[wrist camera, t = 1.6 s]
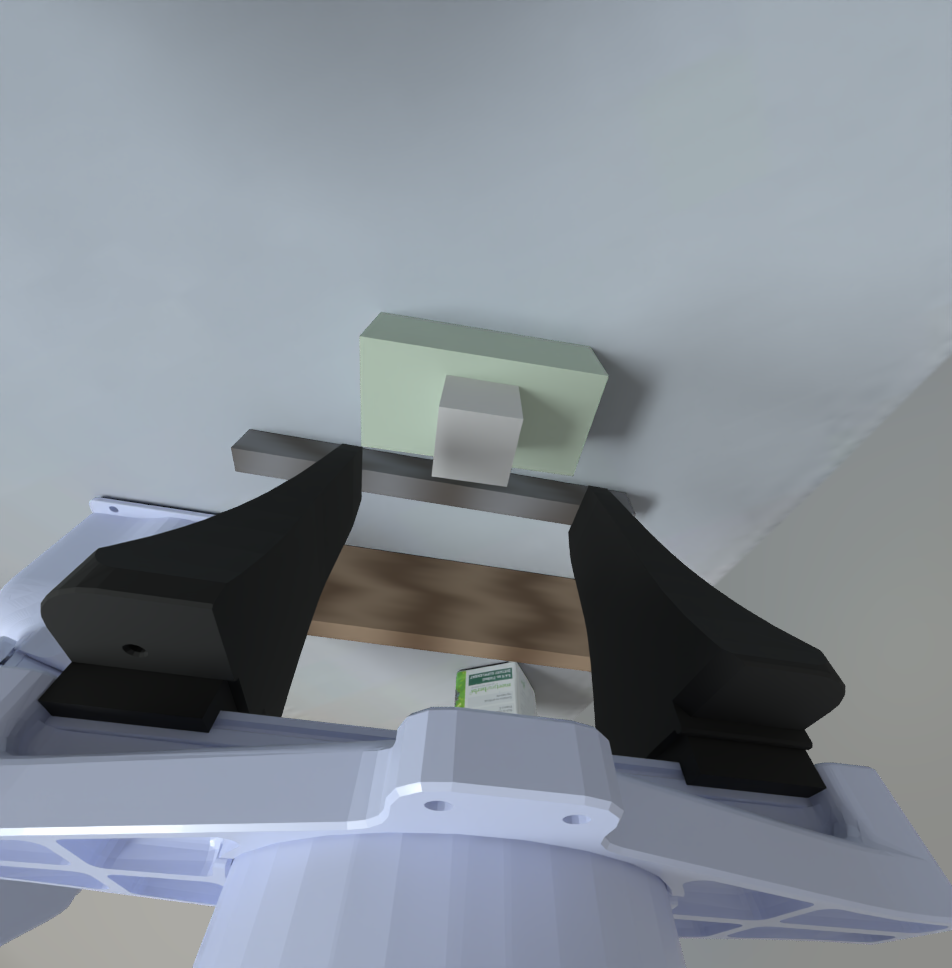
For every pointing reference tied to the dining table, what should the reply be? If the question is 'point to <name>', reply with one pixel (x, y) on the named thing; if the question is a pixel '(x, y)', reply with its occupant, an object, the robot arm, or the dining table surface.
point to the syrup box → (496, 689)
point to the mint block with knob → (476, 397)
